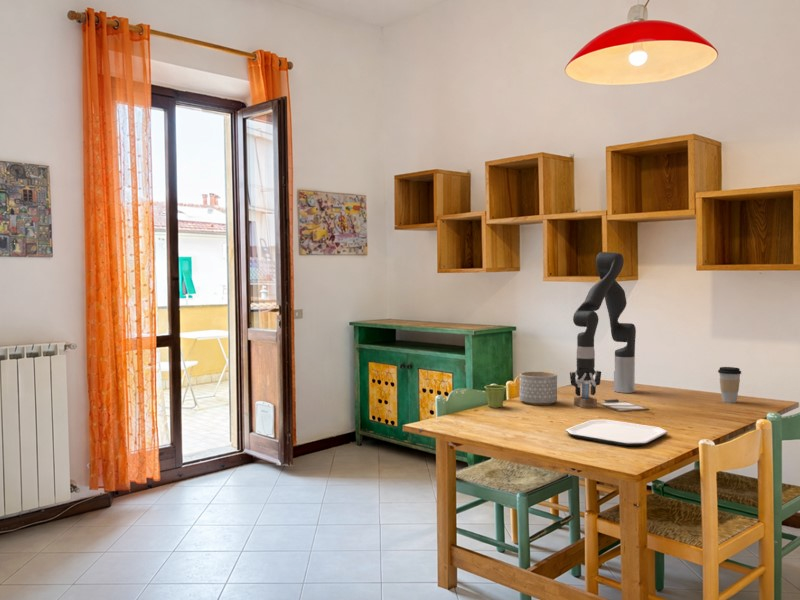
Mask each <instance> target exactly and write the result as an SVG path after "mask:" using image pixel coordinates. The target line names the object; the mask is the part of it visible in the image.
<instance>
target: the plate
mask: <svg viewBox="0 0 800 600" xmlns="http://www.w3.org/2000/svg"><path fill="white" fill-rule="evenodd" d="M565 432H567V433H568V434H569V435H570V436H573V437H575V438H578V439H583V440H588V441H593V442H594V441H595V442H601V443H606V444H610V445H611V444H612V445H616V446H617V445H618V446H624V447H639V446H643V445H646V444H649V443H651V442H653V441H654V440H656V439H659V438H660V437H663V436H665V435H667V434H669V433H668V431H667V430H665V429H664V428H661V427H659V426H653V425H646V424H645V425H644V424H640V423H639V424H638V423H633V422H625V421H620V420H612V419H590V420H586V421H585V422H582V423H579V424H576V425H574V426H571V427H568V428H566V429H565Z"/></svg>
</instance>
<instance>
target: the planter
mask: <svg viewBox="0 0 800 600" xmlns="http://www.w3.org/2000/svg"><path fill="white" fill-rule="evenodd" d="M519 400H520V401H521V402H523V403H524V404H526V405H532V406H533V405H534V406H549V405H552V404H554V403H556V402H557V401H558V375H557V373H555V372H549V371H523V372H520V373H519Z"/></svg>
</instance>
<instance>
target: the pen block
mask: <svg viewBox="0 0 800 600" xmlns="http://www.w3.org/2000/svg"><path fill="white" fill-rule="evenodd" d="M597 403H598V399H597V398H596V397H593V396H591V395H589V399H583V398H582V395H580V396H574V397H573V405H574V406H576V407H579V408H581V409H582V408H583V409H586V408H597V407H598V404H597Z"/></svg>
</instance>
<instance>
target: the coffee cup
mask: <svg viewBox="0 0 800 600" xmlns="http://www.w3.org/2000/svg"><path fill="white" fill-rule="evenodd" d="M717 373H719V385H720V386H719V387H720V393H721V400H722V403H729V404H735V403H737V402H738V395H739V390H740V380H741V379H740V377H741V375H742V371H741V369H740V368H739V367H733V366H732V367H731V366H720V367H719V369H718V370H717Z"/></svg>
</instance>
